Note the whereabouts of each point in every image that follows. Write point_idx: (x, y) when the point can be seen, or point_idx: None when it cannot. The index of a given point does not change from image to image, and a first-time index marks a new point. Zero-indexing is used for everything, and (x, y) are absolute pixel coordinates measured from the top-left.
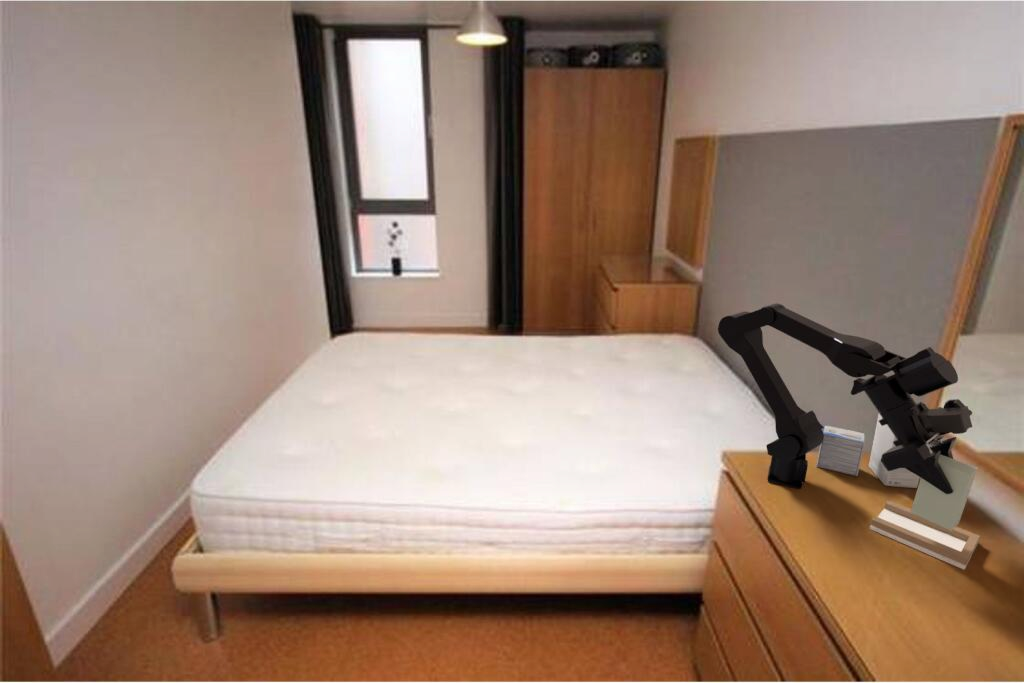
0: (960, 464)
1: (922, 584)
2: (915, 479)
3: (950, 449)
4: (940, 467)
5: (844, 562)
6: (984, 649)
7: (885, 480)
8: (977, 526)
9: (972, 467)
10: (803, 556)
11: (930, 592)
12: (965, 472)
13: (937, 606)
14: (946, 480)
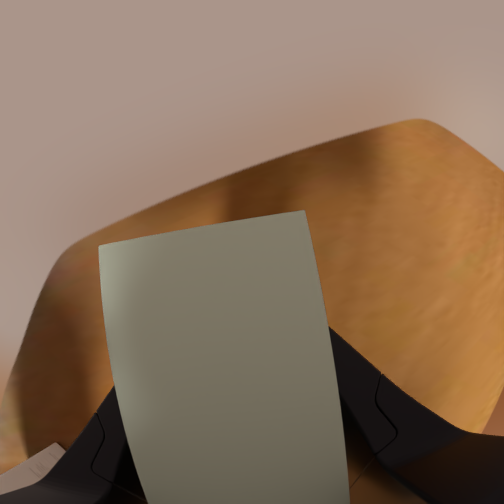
0: (173, 360)
1: (393, 265)
2: (50, 454)
3: (55, 495)
4: (367, 423)
5: (457, 369)
6: (427, 147)
7: None
8: (73, 311)
9: (128, 272)
10: (490, 402)
11: (399, 246)
12: (302, 254)
13: (418, 221)
14: (336, 347)
